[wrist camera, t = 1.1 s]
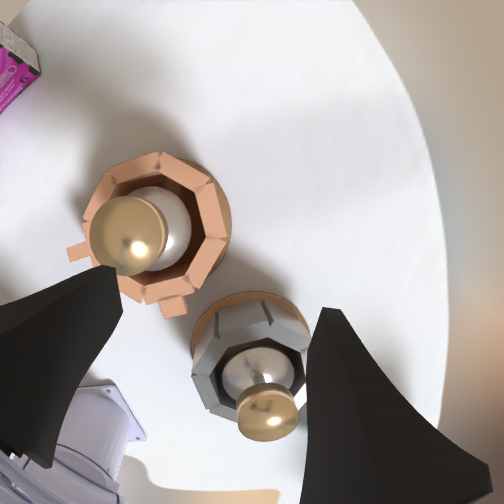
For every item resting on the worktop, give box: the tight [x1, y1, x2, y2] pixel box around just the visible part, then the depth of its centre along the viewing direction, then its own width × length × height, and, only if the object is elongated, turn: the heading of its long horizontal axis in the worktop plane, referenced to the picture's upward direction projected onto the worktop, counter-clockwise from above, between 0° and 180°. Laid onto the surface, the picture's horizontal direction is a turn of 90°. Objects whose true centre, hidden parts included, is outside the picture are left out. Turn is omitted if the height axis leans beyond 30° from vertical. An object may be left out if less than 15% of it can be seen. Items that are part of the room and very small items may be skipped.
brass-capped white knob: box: [89, 187, 192, 276], centre depth 14 cm, size 5×5×5 cm
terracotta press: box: [66, 151, 232, 319], centre depth 19 cm, size 11×12×5 cm
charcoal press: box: [191, 292, 312, 423], centre depth 21 cm, size 11×12×5 cm
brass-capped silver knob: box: [222, 345, 300, 442], centre depth 16 cm, size 5×5×5 cm
